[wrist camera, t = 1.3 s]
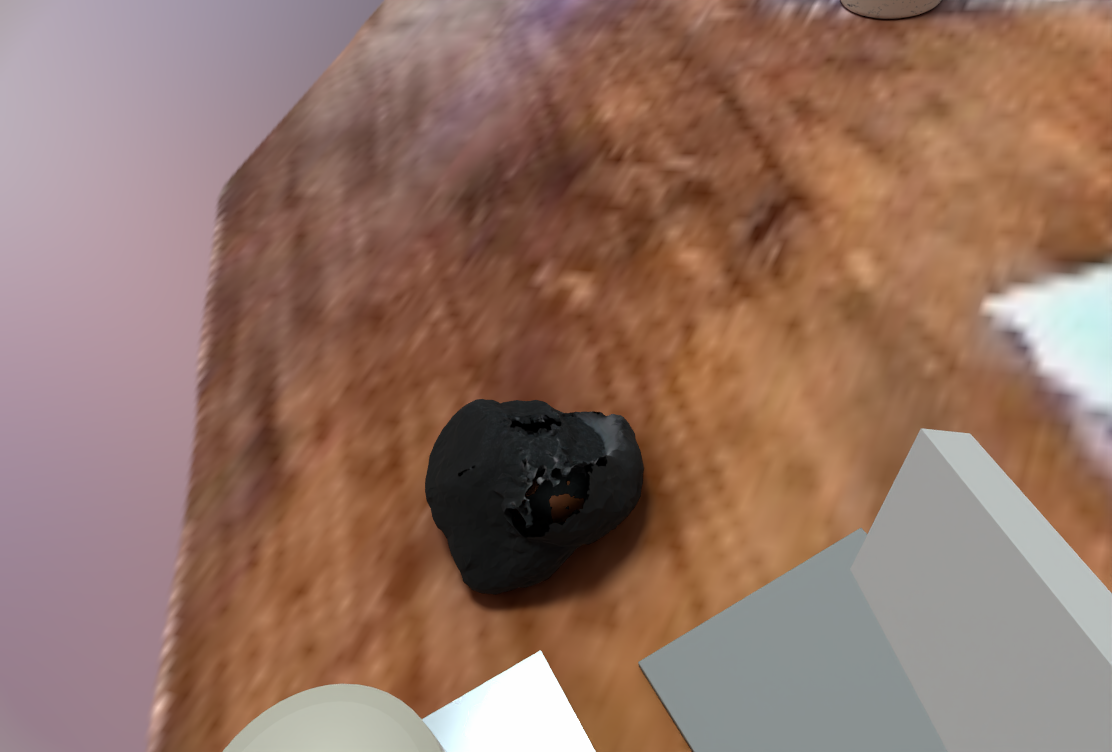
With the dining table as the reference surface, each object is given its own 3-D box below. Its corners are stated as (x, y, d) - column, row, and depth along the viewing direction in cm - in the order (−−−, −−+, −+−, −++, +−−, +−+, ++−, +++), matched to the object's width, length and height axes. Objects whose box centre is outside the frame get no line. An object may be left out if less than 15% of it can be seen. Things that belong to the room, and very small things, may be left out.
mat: (859, 532, 36) (860, 527, 36) (1092, 776, 29) (1096, 773, 28) (638, 665, 34) (638, 662, 33) (830, 973, 26) (832, 972, 26)
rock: (580, 594, 43) (401, 544, 41) (632, 421, 43) (457, 367, 42) (617, 650, 34) (388, 588, 32) (682, 429, 34) (460, 360, 33)
